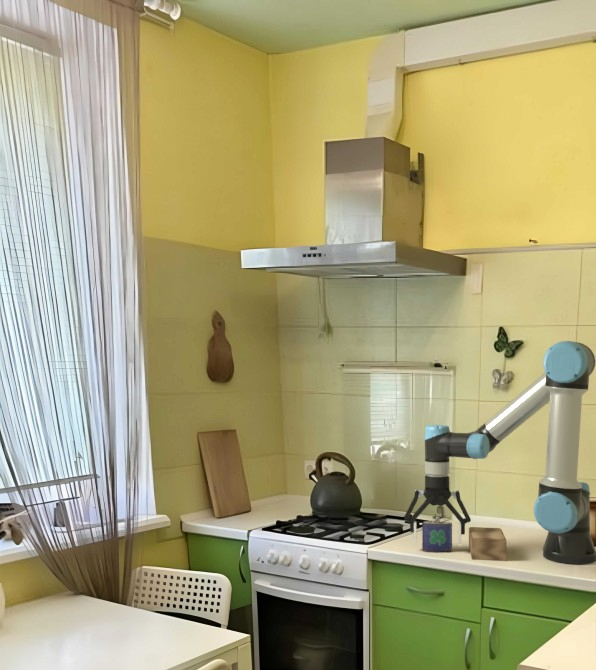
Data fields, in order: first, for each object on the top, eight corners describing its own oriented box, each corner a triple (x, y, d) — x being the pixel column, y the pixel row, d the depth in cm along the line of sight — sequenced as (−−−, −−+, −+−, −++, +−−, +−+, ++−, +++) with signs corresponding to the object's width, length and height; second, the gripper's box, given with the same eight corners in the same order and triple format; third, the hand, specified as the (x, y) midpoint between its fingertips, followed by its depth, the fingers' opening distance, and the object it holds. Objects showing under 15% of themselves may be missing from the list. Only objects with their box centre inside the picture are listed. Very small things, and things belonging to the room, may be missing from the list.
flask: (451, 550, 235) (451, 515, 235) (453, 552, 232) (452, 517, 232) (421, 550, 235) (421, 515, 235) (423, 552, 232) (422, 517, 233)
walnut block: (501, 548, 238) (501, 527, 238) (506, 560, 222) (506, 539, 222) (468, 546, 240) (468, 526, 240) (471, 559, 224) (471, 537, 224)
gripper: (477, 474, 236) (477, 542, 235) (397, 472, 240) (397, 539, 239) (479, 477, 229) (479, 548, 228) (396, 475, 233) (396, 544, 232)
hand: (437, 544), depth 233 cm, fingers open, 13 cm apart
